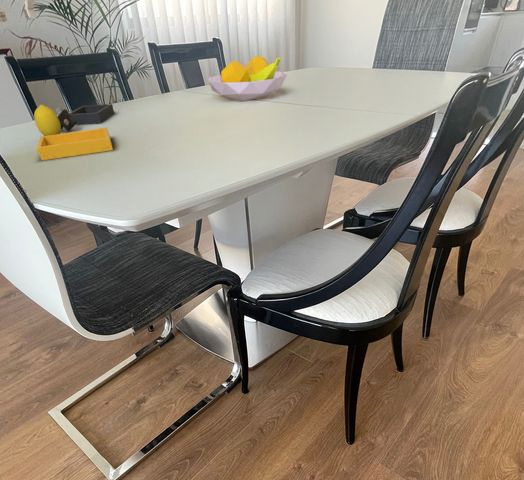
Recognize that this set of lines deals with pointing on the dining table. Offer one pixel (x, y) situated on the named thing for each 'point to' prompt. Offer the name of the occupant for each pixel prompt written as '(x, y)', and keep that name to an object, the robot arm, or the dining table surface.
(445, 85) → the dining table surface
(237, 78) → the fruit bowl
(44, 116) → the lemon
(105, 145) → the yellow tray
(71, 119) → the lighter
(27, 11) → the robot arm
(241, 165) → the dining table surface
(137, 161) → the dining table surface
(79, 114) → the dark tray
